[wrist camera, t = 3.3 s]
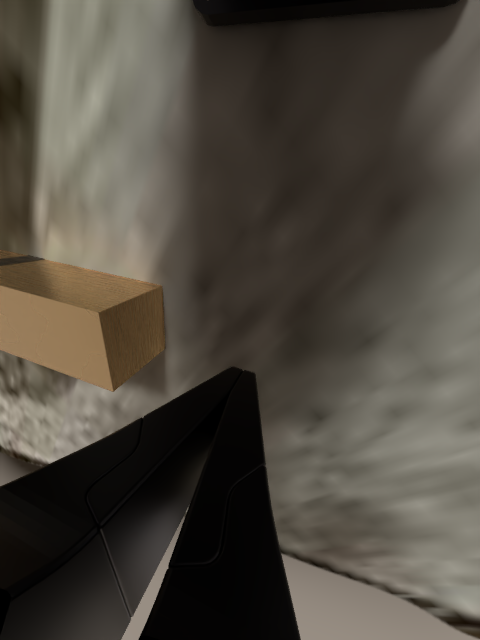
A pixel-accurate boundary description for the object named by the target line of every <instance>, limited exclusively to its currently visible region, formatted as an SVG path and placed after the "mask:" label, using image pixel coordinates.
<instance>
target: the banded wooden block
mask: <svg viewBox="0 0 480 640" xmlns="http://www.w3.org/2000/svg"><path fill="white" fill-rule="evenodd" d="M164 349H165V334H164V313H163V292H162V286H161V285H157V284H152V283H148V282H143V281H139V280H134V279H130V278H125V277H121V276H116V275H112V274H107V273H103V272H98V271H94V270H90V269H85V268H81V267H76V266H72V265H67V264H63V263H58V262H54V261H49V260H45V259H43V258H38V257H34V256H29V255H22V254H18V253H13V252H9V251H4V250H0V350H2V351H5V352H8V353H10V354H13V355H16V356H18V357H21V358H24V359H26V360H29V361H32V362H34V363H37V364H40V365H43V366H45V367H48V368H51V369H53V370H56V371H59V372H61V373H64V374H67V375H69V376H72V377H75V378H77V379H80V380H83V381H85V382H88V383H91V384H94V385H96V386H99V387H102V388H104V389H107V390H110V391H112V392H114V391H115V390H116V389H117V388H118V387H120V386H121V385H122V384H123V383H124V382H126V381H127V380H128V379H129V378H130V377H132V376H133V375H134V374H135V373H136V372H138V371H139V370H140V369H141V368H142V367H144V366H145V365H146V364H147V363H148V362H150V361H151V360H152V359H153V358H154V357H156V356H157V355H158V354H159V353H160V352H162V351H163V350H164Z"/></svg>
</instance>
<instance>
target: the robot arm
mask: <svg viewBox="0 0 480 640" xmlns="http://www.w3.org/2000/svg"><path fill="white" fill-rule="evenodd" d="M458 1H459V0H208V1H207V0H193V3H194V5H195V7H196V9H197V11H198V13H199V14H200V16H201V18H202V19H203V20H204V21H205V23H206V24H207V25H211V26H222V25H234V24H246V23H257V22H269V21H281V20H293V19H305V18H317V17H328V16H340V15H352V14H364V13H376V12H388V11H399V10H411V9H423V8H435V7H445V6H448V5H451V4H454V3H456V2H458ZM265 465H266V462H265V453H264V444H263V436H262V427H261V418H260V409H259V400H258V392H257V383H256V375H255V373H254V372H250V371H247V370H244V371H243V370H242V369H240V368H237V367H233V366H232V367H230V368H228V369H226V370H224V371H223V372H221V373H219V374H217V375H216V376H214V377H212V378H210V379H209V380H207V381H205V382H203V383H202V384H200V385H198V386H196V387H195V388H193V389H191V390H189V391H187V392H186V393H184V394H182V395H180V396H179V397H177V398H175V399H173V400H172V401H170V402H168V403H166V404H165V405H163V406H161V407H159V408H158V409H156V410H154V411H152V412H150V413H149V414H147V415H145V416H144V417H143V418H140V419H138V420H136V421H134V422H133V423H131V424H129V425H127V426H125V427H124V428H122V429H120V430H118V431H116V432H114V433H112V434H111V435H109V436H107V437H105V438H103V439H101V440H99V441H97V442H95V443H93V444H91V445H89V446H87V447H84V448H82V449H80V450H78V451H76V452H74V453H72V454H70V455H67V456H65V457H63V458H61V459H59V460H57V461H55V462H53V463H50V464H48V465H46V466H44V467H42V468H40V469H38V470H35V471H34V472H31V473H29V474H27V475H25V476H23V477H20V478H18V479H16V480H14V481H12V482H10V483H7V484H5V485H3V486H0V640H121V639H122V636H123V635H124V633H125V631H126V629H127V627H128V625H129V623H130V620H131V617H132V616H133V615H134V613H135V611H136V609H137V607H138V605H139V603H140V601H141V599H142V597H143V595H144V593H145V591H146V589H147V587H148V585H149V583H150V581H151V579H152V577H153V575H154V573H155V571H156V569H157V567H158V565H159V563H160V561H161V559H162V557H163V555H164V553H165V552H166V550H167V548H168V546H169V544H170V542H171V540H172V538H173V536H174V534H175V531H176V530H177V528H178V526H179V524H180V522H181V520H182V518H183V516H184V514H185V512H186V510H187V508H188V506H189V504H190V506H189V508H188V511H187V514H186V517H185V520H184V523H183V525H182V528H181V531H180V534H179V537H178V539H177V542H176V545H175V548H174V551H173V554H172V557H171V559H170V562H169V568H168V569H167V571H166V574H165V576H164V579H163V582H162V584H161V587H160V590H159V592H158V595H157V597H156V600H155V602H154V605H153V608H152V610H151V612H150V615H149V617H148V620H147V622H146V624H145V626H144V629H143V631H142V633H141V636H140V638H139V640H301V639H300V634H299V630H298V626H297V621H296V617H295V612H294V608H293V603H292V600H291V595H290V591H289V586H288V582H287V577H286V573H285V569H284V564H283V560H282V555H281V551H280V546H279V542H278V537H277V532H276V527H275V522H274V517H273V512H272V507H271V500H270V493H269V486H268V478H267V469H266V467H265ZM190 502H191V503H190Z"/></svg>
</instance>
